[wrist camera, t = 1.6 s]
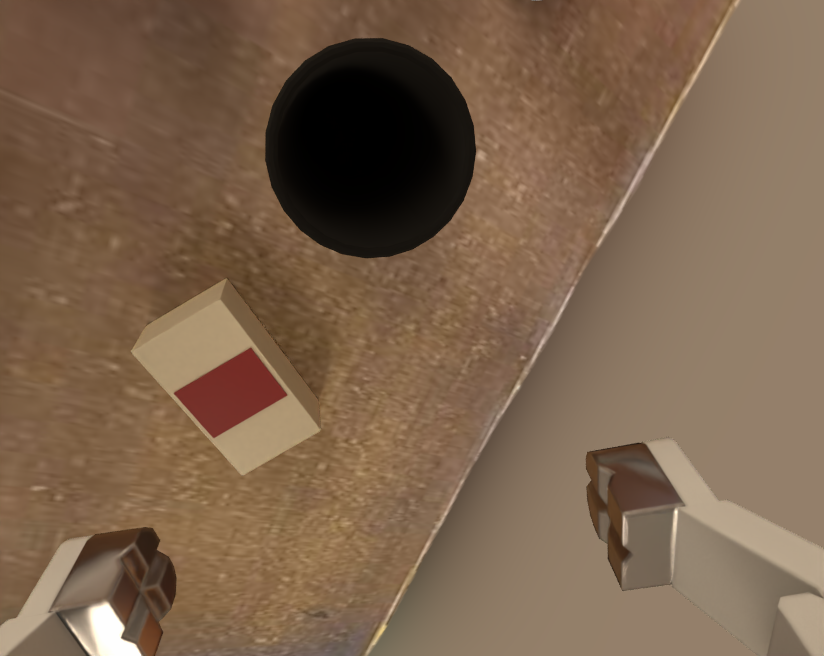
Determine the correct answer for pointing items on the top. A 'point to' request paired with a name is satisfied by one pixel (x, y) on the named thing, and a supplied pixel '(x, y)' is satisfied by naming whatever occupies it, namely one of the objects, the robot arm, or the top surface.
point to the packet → (229, 377)
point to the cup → (370, 147)
